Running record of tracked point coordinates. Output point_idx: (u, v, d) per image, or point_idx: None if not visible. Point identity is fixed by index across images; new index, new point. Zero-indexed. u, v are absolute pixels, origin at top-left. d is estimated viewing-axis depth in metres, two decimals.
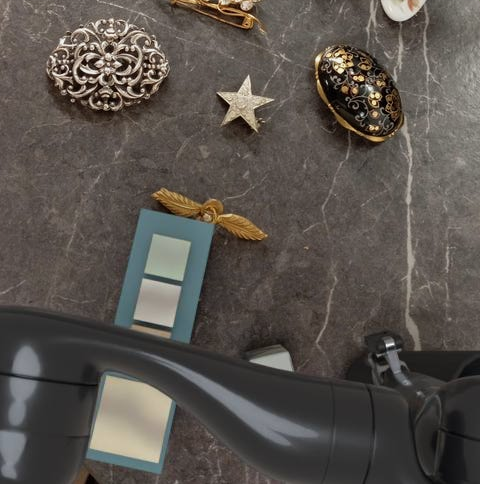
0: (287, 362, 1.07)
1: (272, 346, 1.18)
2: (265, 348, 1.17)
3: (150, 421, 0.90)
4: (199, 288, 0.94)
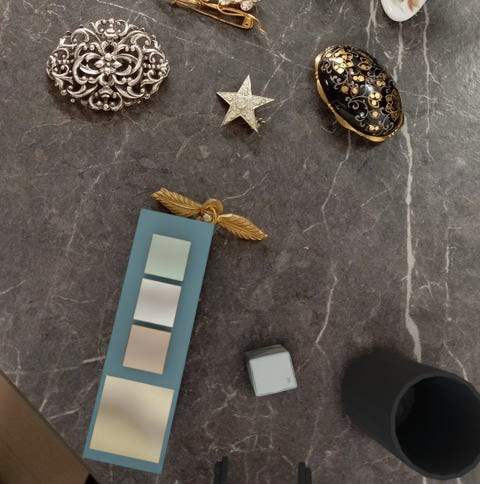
0: (287, 362, 1.07)
1: (272, 346, 1.18)
2: (265, 348, 1.17)
3: (150, 421, 0.90)
4: (199, 288, 0.94)
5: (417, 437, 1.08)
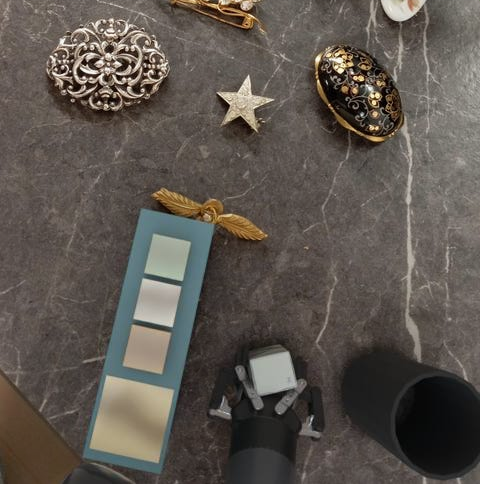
0: (287, 362, 1.07)
1: (272, 346, 1.18)
2: (265, 348, 1.17)
3: (150, 421, 0.90)
4: (199, 288, 0.94)
5: (417, 437, 1.08)
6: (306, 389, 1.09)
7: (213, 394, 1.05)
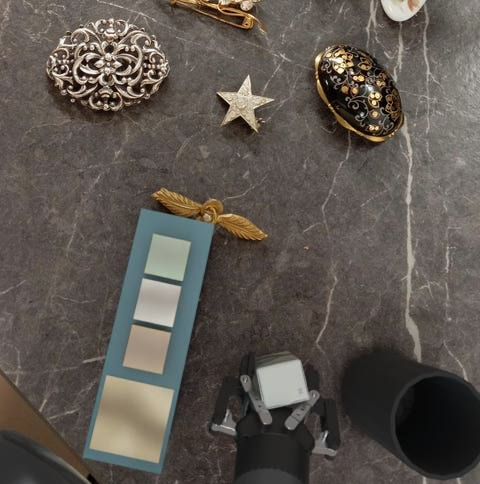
0: (298, 371, 0.96)
1: (280, 353, 1.07)
2: (272, 355, 1.06)
3: (150, 421, 0.90)
4: (199, 288, 0.94)
5: (417, 437, 1.08)
6: (319, 401, 0.98)
7: (216, 407, 0.94)
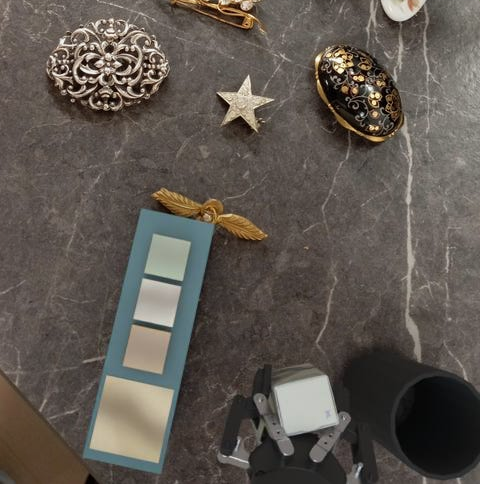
0: (325, 389, 0.79)
1: (300, 366, 0.89)
2: (291, 368, 0.88)
3: (150, 421, 0.90)
4: (199, 288, 0.94)
5: (417, 437, 1.08)
6: (350, 426, 0.80)
7: (225, 434, 0.77)
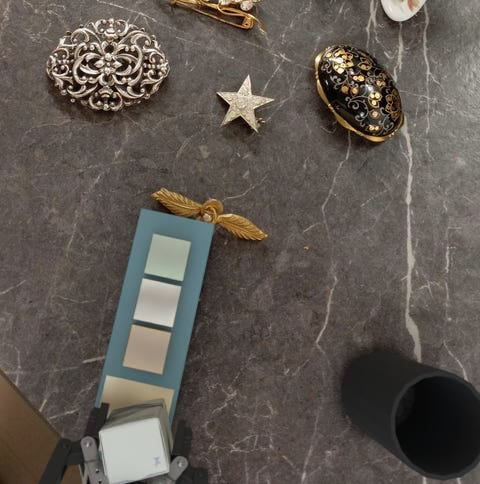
0: (155, 433, 0.71)
1: (150, 402, 0.82)
2: (139, 405, 0.81)
3: None
4: (199, 288, 0.94)
5: (417, 437, 1.08)
6: (186, 472, 0.73)
7: None
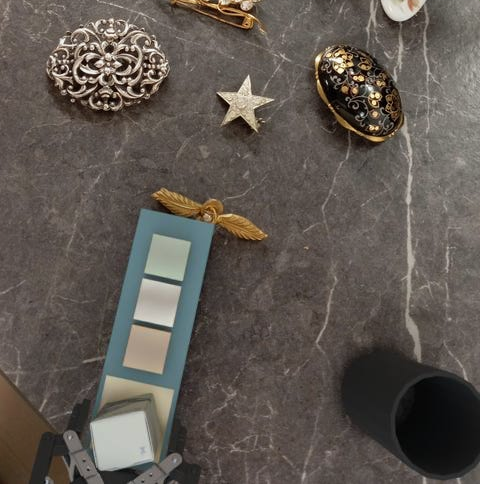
0: (141, 425, 0.78)
1: (139, 397, 0.89)
2: (129, 400, 0.88)
3: None
4: (199, 288, 0.94)
5: (417, 437, 1.08)
6: (181, 468, 0.79)
7: (32, 477, 0.75)
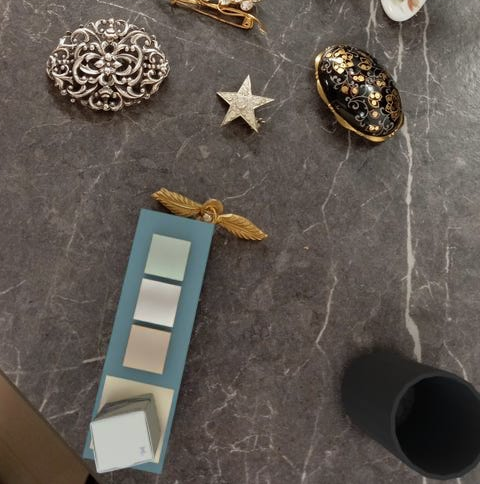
0: (141, 425, 0.78)
1: (139, 397, 0.89)
2: (129, 400, 0.88)
3: None
4: (199, 288, 0.94)
5: (417, 437, 1.08)
6: None
7: None
